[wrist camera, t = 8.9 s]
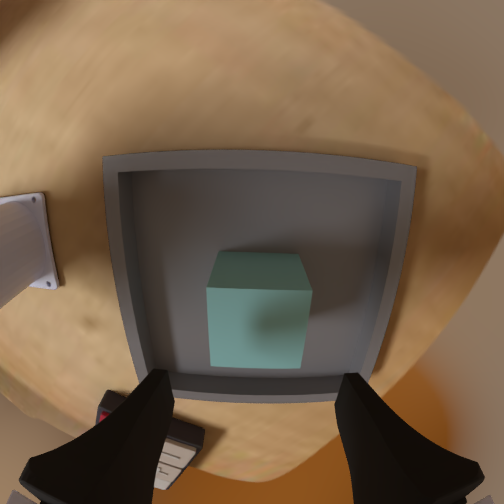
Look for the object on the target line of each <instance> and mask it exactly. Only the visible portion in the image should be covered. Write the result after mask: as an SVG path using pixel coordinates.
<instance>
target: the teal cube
mask: <svg viewBox="0 0 504 504" xmlns="http://www.w3.org/2000/svg"><path fill="white" fill-rule="evenodd" d="M312 291H313V290H312V288H311V285H310V283H309V280H308V277H307V275H306V272H305V270H304V267H303V264H302V262H301V259H300V257H299V254H288V253H258V252H228V251H219V252H218V255H217V257H216V260H215V263H214V266H213V269H212V272H211V275H210V278H209V281H208V284H207V287H206V292H207V314H208V332H209V348H210V363H211V366H217V367H235V368H269V369H293V368H300V367H301V361H302V356H303V350H304V344H305V338H306V332H307V325H308V319H309V312H310V305H311V298H312Z"/></svg>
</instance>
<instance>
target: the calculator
mask: <svg viewBox="0 0 504 504" xmlns="http://www.w3.org/2000/svg"><path fill="white" fill-rule="evenodd" d="M125 399H126V398H125V397H123V396H121V395H119V394H117V393H115V392H113V391H111V390H107V391H106V393H105V394H104V396H103V398H102V400H101V402H100V404H99V406H98V411H97V417H96V425H97V424H98V423H99V422H100V421H102V420H103V419H104V418H105V417H107V416H108V415H109V414H110V413H111V412H112V411H113V410H114V409H115V408H116V407H118V406H119V405H120V404H121V403H122V402H123V401H124V400H125ZM204 433H205V429H203V428H201V427H198V426H195V425H192V424H189V423H187V422H184V421H181V420H178V419H176V418H173V417H172V420H171V424H170V427H169V431H168V434H167V437H166V440H165V443H164V447H163V450H162V453H161V456H160V459H159V463H158V467H157V471H156V477H155V483H154V487H156V488H160V489H163V490H165V489H169V488H170V487H171V486H172V484H173V483H174V482H175V481H176V480H177V478H178V477H179V476H180V475H181V474H182V473H183V471H184V470H185V469H186V468H187V467H188V465H189V464H190V463H191V462H192V461H193V459H194V458H195V457H196V456H197V454H198V453H199V452H200V451H201V449H202V447H203V440H204Z"/></svg>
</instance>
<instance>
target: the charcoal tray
mask: <svg viewBox="0 0 504 504" xmlns="http://www.w3.org/2000/svg"><path fill="white" fill-rule="evenodd" d="M416 173H417V167H416V166H411V165H405V164H399V163H393V162H386V161H379V160H372V159H364V158H356V157H348V156H338V155H328V154H317V153H304V152H288V151H267V150H181V151H161V152H145V153H133V154H121V155H112V156H103V183H104V199H105V211H106V222H107V231H108V239H109V247H110V254H111V261H112V268H113V274H114V280H115V285H116V291H117V296H118V301H119V306H120V311H121V315H122V320H123V324H124V329H125V333H126V337H127V341H128V345H129V349H130V352H131V356H132V360H133V363H134V367H135V370H136V374H137V377H138V380H139V384H140V383H141V382H142V380H143V379H144V378H145V377H146V376H147V375H148V374H149V372H150V371H151V370H152V369H154V368H155V369H163V370H168V374H169V379H170V384H171V388H172V392H173V397H174V398H183V399H192V400H203V401H216V402H233V403H307V402H324V401H336V398H337V395H338V392H339V389H340V386H341V383H342V380H343V376H344V373H356V372H358V373H359V374H360V375H361V376H362V377H363V379H364V380H365V381H366V382H367V383H368V382H369V379H370V376H371V374H372V371H373V368H374V365H375V362H376V360H377V357H378V354H379V351H380V348H381V345H382V342H383V338H384V335H385V332H386V329H387V325H388V322H389V318H390V315H391V311H392V308H393V304H394V300H395V296H396V292H397V288H398V284H399V280H400V275H401V271H402V266H403V262H404V257H405V252H406V246H407V241H408V235H409V229H410V223H411V216H412V209H413V201H414V193H415V184H416ZM219 251H228V252H258V253H288V254H299V257H300V259H301V262H302V264H303V267H304V270H305V272H306V275H307V277H308V280H309V283H310V285H311V288H312V290H313V291H312V298H311V305H310V312H309V319H308V325H307V332H306V338H305V344H304V350H303V356H302V361H301V367H300V368H293V369H269V368H235V367H217V366H211V363H210V348H209V332H208V314H207V292H206V287H207V284H208V281H209V278H210V275H211V272H212V269H213V266H214V263H215V260H216V257H217V255H218V252H219Z"/></svg>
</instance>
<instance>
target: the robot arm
mask: <svg viewBox="0 0 504 504" xmlns="http://www.w3.org/2000/svg"><path fill="white" fill-rule="evenodd" d="M35 198H36V201H35ZM49 282H50V283H49ZM28 286H30V287H37V288H45V289H52V290H56V289H57V288H58V287H59V280H58V276H57V272H56V267H55V262H54V257H53V252H52V247H51V241H50V235H49V228H48V221H47V213H46V205H45V197H44V194H43V193H42V192H37V193H29V194H22V195H14V196H7V197H1V198H0V309H1V308H2V307H3V306H4V305H6V304H7V303H8V302H9V301H10V300H12V299H13V298H14V297H15V296H17V295H18V294H19V293H20V292H22V291H23V290H24V289H26V288H27V287H28ZM174 403H175V401H174V397H173V392H172V388H171V384H170V379H169V374H168V370H163V369H155V368H154V369H152V370H151V371H150V372H149V374H148V375H147V376H146V377H145V378H144V379H143V380H142V382H141V383H140V384H139V385H138V386H137V387H136V388H135V389H134V390H133V391H132V393H131V394H130V395H129V396H128V397H127V398H126V399H125V400H124V401H123V402H122V403H121V404H120V405H119V406H118V407H116V408H115V409H114V410H113V411H112V412H111V413H110V414H109V415H108V416H107V417H105V418H104V419H103V420H102V421H100V422H99V423H98V424H97V425H95V426H94V427H93V428H91V429H90V430H88V431H87V432H85V433H84V434H82V435H81V436H79V437H77V438H76V439H74V440H72V441H71V442H68V443H66V444H64V445H62V446H60V447H58V448H57V449H54V450H52V451H49V452H46V453H44V454H41V455H38V456H35V457H31V458H30V459H29V461H28V462H27V464H26V466H25V468H24V470H23V472H22V474H21V476H20V478H19V482H20V484H21V485H22V486H23V487H25V488H26V489H27V490H28V491H29V492H31V493H32V494H33V495H34V496H36V497H37V498H38V499H39V500H41V502H40V504H152V497H153V489H154V483H155V477H156V471H157V467H158V463H159V459H160V456H161V453H162V450H163V447H164V443H165V440H166V437H167V434H168V431H169V427H170V424H171V420H172V415H173V409H174ZM334 405H335V413H336V419H337V425H338V429H339V433H340V436H341V440H342V443H343V447H344V451H345V454H346V458H347V461H348V465H349V469H350V474H351V481H352V490H353V500H354V504H466V503H467V500H466V498H465V496H466V495H468V494H469V493H470V492H471V491H473V490H474V489H475V488H476V487H478V486H479V485H480V484H481V483H482V482H483V480H484V478H485V476H484V474H483V472H482V470H481V468H480V466H479V464H478V462H475V461H472V460H470V459H467V458H464V457H461V456H459V455H456V454H454V453H452V452H450V451H448V450H446V449H444V448H442V447H440V446H438V445H436V444H435V443H433V442H432V441H430V440H429V439H427V438H425V437H424V436H423V435H421V434H420V433H418V432H417V431H416V430H414V429H413V428H412V427H411V426H409V425H408V424H407V423H406V422H405V421H403V420H402V419H401V418H400V417H399V416H398V415H397V414H396V413H395V412H394V411H393V410H392V409H391V408H390V407H389V406H388V405H387V404H386V403H385V402H384V401H383V400H382V399H381V398H380V397H379V396H378V394H377V393H376V392H375V391H374V390H373V389H372V388H371V387H370V385H369V384H368V383H367V382H366V381H365V380H364V379H363V377H362V376H361V375H360V374H359V373H358V372H356V373H344V376H343V380H342V383H341V386H340V389H339V392H338V395H337V398H336V401H335V404H334ZM7 504H37V503H35V502H33V501H31V500H30V499H28V498H27V497H25V496H23V495H22V494H20V493H19V492H17V491H16V490H12V493H11V495H10V497H9V499H8V501H7ZM475 504H494V502H493V500H492V498H491V496H490V495H488V496H486V497H485V498H483V499H481V500H480V501H478V502H476V503H475Z"/></svg>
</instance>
